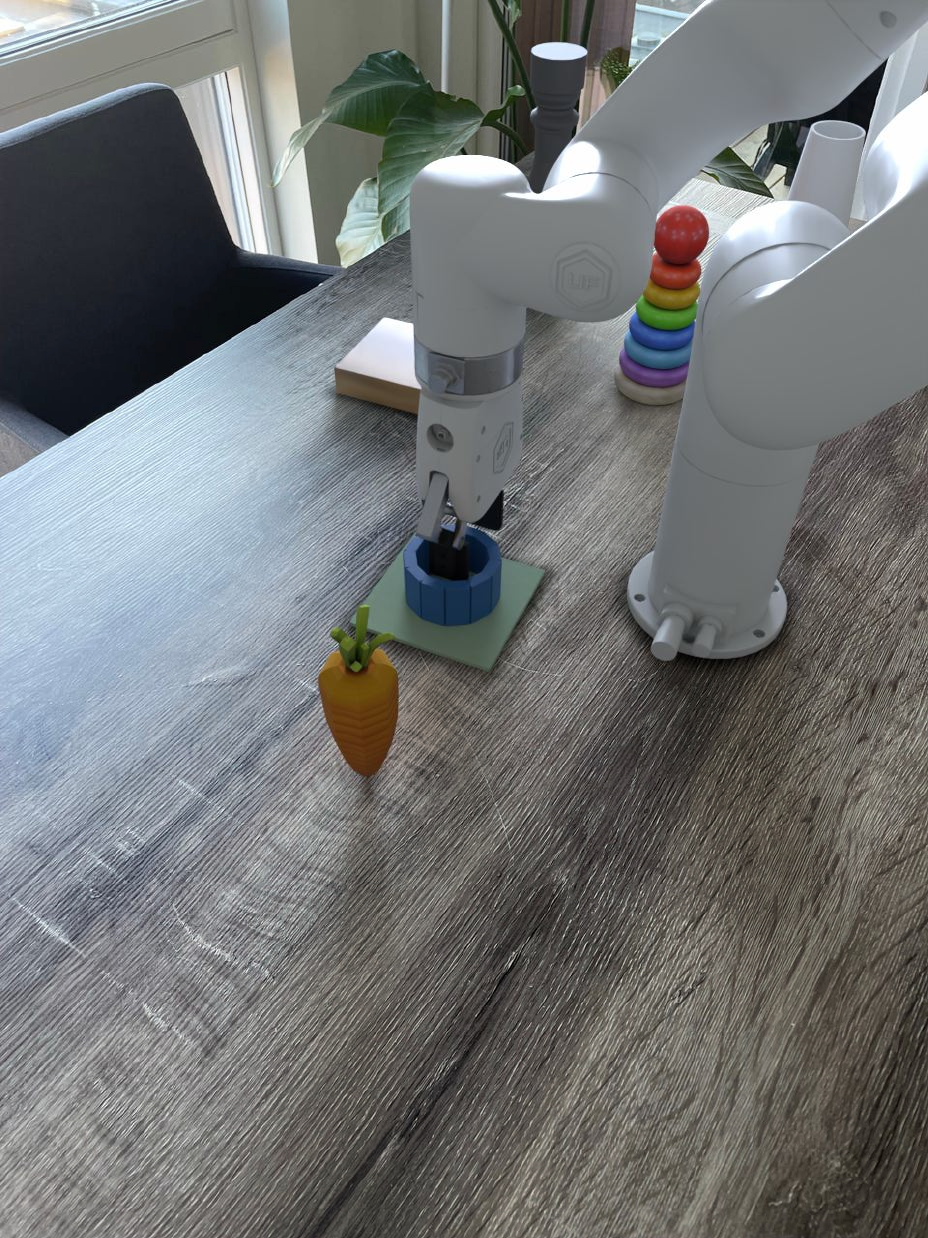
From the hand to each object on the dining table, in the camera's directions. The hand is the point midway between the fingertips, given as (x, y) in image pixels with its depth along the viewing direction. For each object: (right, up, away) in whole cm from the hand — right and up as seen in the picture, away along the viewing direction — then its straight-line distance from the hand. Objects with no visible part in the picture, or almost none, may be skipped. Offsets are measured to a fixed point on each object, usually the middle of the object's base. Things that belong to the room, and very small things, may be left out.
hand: (466, 548), depth 81 cm
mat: (-1, -4, 0) cm, 4 cm away
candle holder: (+9, +34, +37) cm, 51 cm away
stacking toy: (+19, +18, +22) cm, 34 cm away
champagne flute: (+33, +21, +25) cm, 46 cm away
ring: (-1, -4, 0) cm, 4 cm away
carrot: (-7, -17, -12) cm, 22 cm away
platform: (-5, +19, +23) cm, 30 cm away
